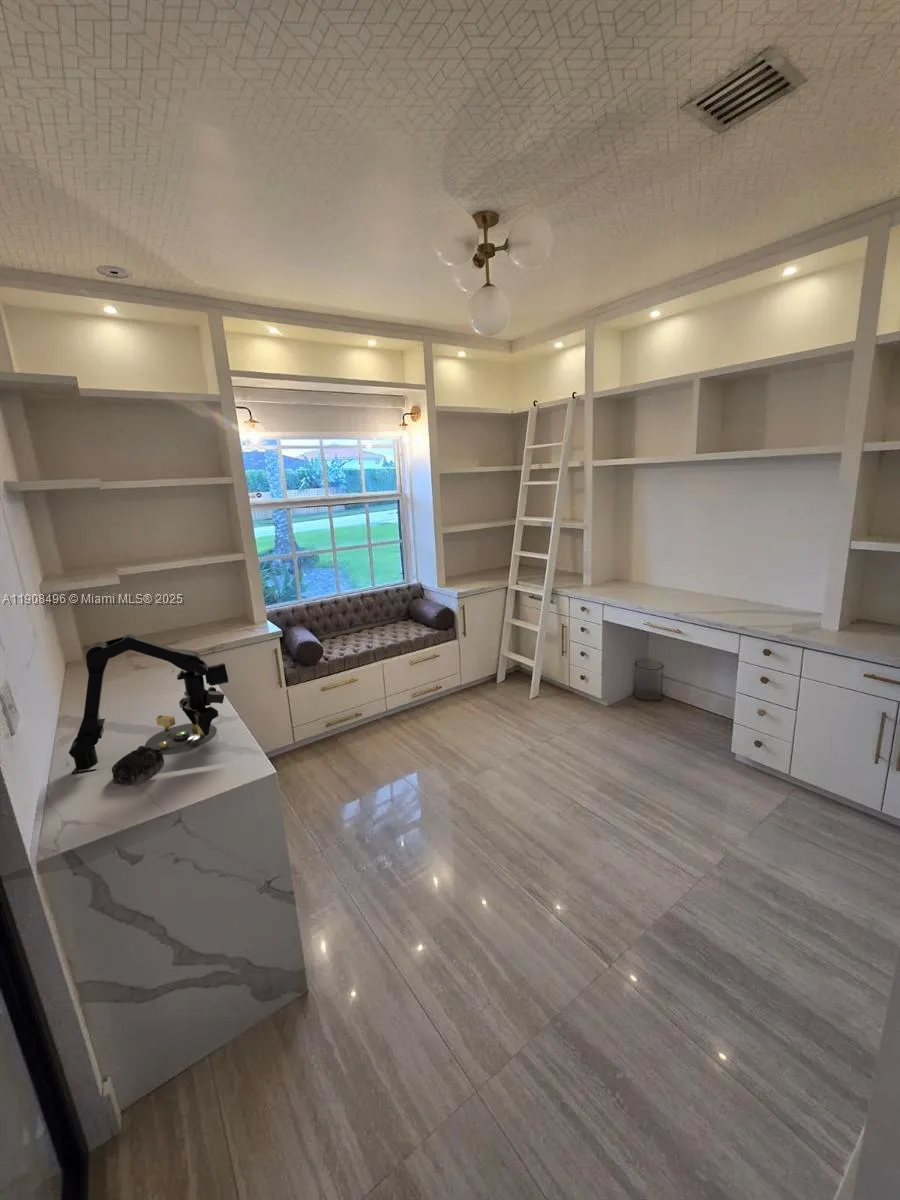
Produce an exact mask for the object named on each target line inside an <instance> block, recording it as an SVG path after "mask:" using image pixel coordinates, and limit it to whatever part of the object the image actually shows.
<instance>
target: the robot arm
mask: <svg viewBox="0 0 900 1200" xmlns="http://www.w3.org/2000/svg"><path fill="white" fill-rule="evenodd" d="M128 651H133V652H137V653H140V654H143V655H146V656H149V657H153V658H155V659H160V660H162V661H166V662H169V663H171V664H172V665H173V666H175V667H177V668H179V669H180V672H178V674H177V675H176V679H177V680H178V681H179V680H180V681H181V680H183V681H184V688H185V689H184V690H185V691H184V692H183V693H184V696H185V697H184V698H181V699H180V701H179V708H180V709H182V711H183V713H184V714H185V715H186V717H187V718H188V720H189V721H190V723H192V724H193V725H195V724H198V726H199V727H200V729H201V730H202V732H203V733H204V735H205V736H207V735H209V730H210V725H212V721H213V720H214V719H216V718H218V717H219V710H218V709H216V708H215V707H213V706H211V705H212V704H220V705H221V704H223V703H224V700H225V693H223V692H222V691H219V690H217V688H216V687H215V686H217V685H222V684H223V685H224V684H228V683H229V677H228V676H229V675H228V673H227V668H226V663H225V662H223V663H218V664H214V665H209V666H208V664H207V663H206V662H205V661H204V660H202V659H201V656H200V653H199V652H197V651H195V650H192V649H185V648H174V647H173V648H172V647H169V646H166V645H164V644H160V643H157V642H154V641H150V640H148V639H144V638H141V637H138V636H135V635H134V634H126V635H124V636H121V637H116V638H114V639H110V640H106V641H95V642H94V643H92V644H90V647H89V648H88V650H87V651H86V654H85V663H86V668H87V673H88V678H87V685H86V686H87V687H86V693H85V702H84V710H83V711H84V712H83V718H82V721H81V724H80V726H79V729H78V732H77V735H76V737H75V738H74V739H73V741H72V744H71V746H70V749H69V750H68V754H69V755H70V757H71V758H73V760H74V765H75V768H74V769H73V770H72V771H71V775H76V774H83V773H90V772H95V771H97V768H95V769H91V768H92V767H94V766H95V765H97V764H98V763H99V760H98V754H97V749H96V745H97V744H98V743H99V739H102V738H103V734H104V732H105V729H104V724H105V721H106V718H101V717H100V708H101V701H102V692H103V684H104V678H105V677H104V676H105V670H106V667H107V665H108V662H109V659H112V658H115V657H117V656H119V655H121V654H123V653H125V652H128ZM204 676H205V680H204ZM205 682H206V684H208V686H209V687H208V689H206V687H205Z"/></svg>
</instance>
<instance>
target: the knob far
mask: <svg viewBox="0 0 900 1200" xmlns="http://www.w3.org/2000/svg"><path fill="white" fill-rule="evenodd" d="M155 720H156V725H157V726H160V727H163V728H164V730H165V731H166V732H167V731H170V728H172V727H174V726H176V719H175V716H171V715H162V714H160V715H159V716H157V717H156V719H155Z"/></svg>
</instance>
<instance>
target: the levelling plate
mask: <svg viewBox="0 0 900 1200" xmlns="http://www.w3.org/2000/svg"><path fill="white" fill-rule="evenodd" d="M192 726H193V724H192V722H190V723H185V724H180V725H174V726H171V727H170V731H167V732H166V731H165V729H164V730H162V731H160V732H158V733H156V734H154V735H153V736H151V737H150V738H149V739H148V740H147V741H146V742H145V744H144V746H145V747H150V748H153V749H160V750H161V752H162V754H163V756H167V755H168V756H169V755H174V754H180V753H185V752H188V751H192V750H194V749H196V748H199V747H201V746H203V745H205V744H207V743H209V742H210V741H211V740H213V738H214V737H215V736H216V735H217V732H218V729H217V727H216V726H215V725H214V724H211V725H210V730H209V735H207V736H205V737H202V738H201V737H200V734H199V735H196V734H193V732H192Z"/></svg>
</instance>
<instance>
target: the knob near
mask: <svg viewBox="0 0 900 1200" xmlns="http://www.w3.org/2000/svg"><path fill="white" fill-rule="evenodd" d="M192 732H193V734H196V735H199V734H200V737H201V738H202V737H205V735H204V733H203V732H202V730H201V729H200V727H199V726H198V724H195V725H193V726H192Z"/></svg>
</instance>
